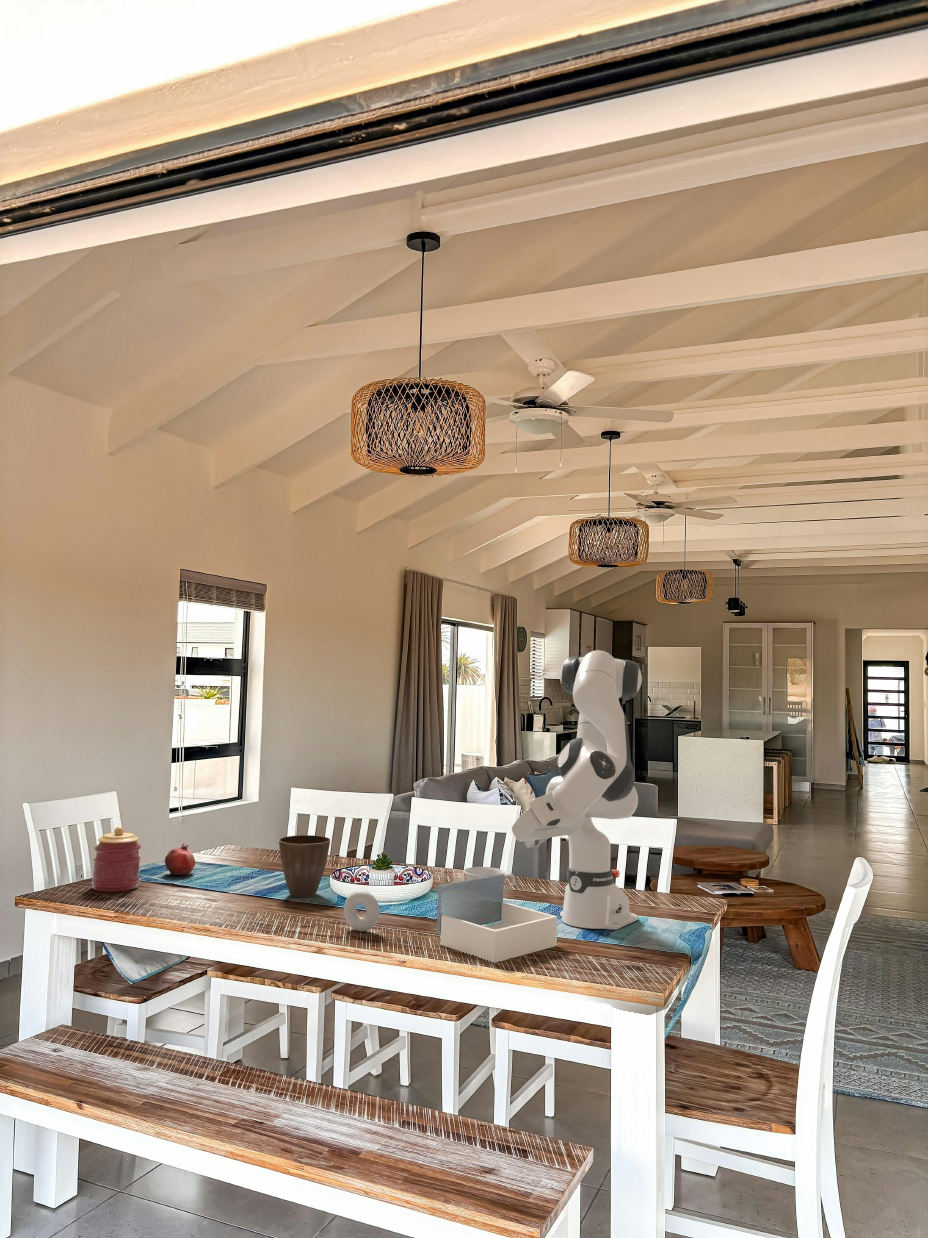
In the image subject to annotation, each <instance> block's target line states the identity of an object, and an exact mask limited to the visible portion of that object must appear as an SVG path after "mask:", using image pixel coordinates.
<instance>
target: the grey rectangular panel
mask: <svg viewBox="0 0 928 1238" xmlns="http://www.w3.org/2000/svg"><path fill="white" fill-rule="evenodd" d="M504 878H505V874H504V875H503V874H497V875H492V876H486V877H480V878H474V879H469V880H466V879H464V880H463V879H462V880H459V881H453V882H447V883H440V884H438V885H437V908H436V909H437V913H436V914H437V915H436V934H437V935H439V936H441V915H447V916H450V917H454V918H457V919H460V920H464V921H467V922H470V923H473V924H477V925H480V926H485V925H488V924H489V925H490V924H494V923H497V922H498V923H499V922H501V912H502V902H504V892H503V889H504V888H505V887H504V883H505V881H504Z"/></svg>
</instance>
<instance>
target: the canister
mask: <svg viewBox="0 0 928 1238" xmlns="http://www.w3.org/2000/svg"><path fill="white" fill-rule="evenodd" d="M139 839H140V838H139V837H138V836H136V835H135V833H131V832H125V830H124V828H123V827H122V826H117V827H116V828H115V829H114V831H113V832H109V833H105V834H103V835H102V836H101V837H99V838H97V841H98V842H99V843H98V844H97V845H96V846H94V850H95V857H94V858H93V875H92V880H91V882H92V883H91V886H92V889H93V890H94V891H96V892H103V893H119V892H127V891H132V890H135V889H137V888H138V887H139V884H140V866H141V865H140V864H141V863H140V862H141V856H140V849H142V845H141V844H140V843H138V841H139Z"/></svg>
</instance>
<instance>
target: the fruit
mask: <svg viewBox="0 0 928 1238" xmlns="http://www.w3.org/2000/svg"><path fill="white" fill-rule="evenodd" d="M188 848H189V845H188V844H186V845H185V843H184V842H183V844H182V845H181V847H178V848H174V849H171V850H170V851H168V853H167V855H165V858H164V866H165V868H166V869H167V871H168V872H169V876H171V877H172V876H187V875H190V874H191V873H192V872H193V870H194V868H195V866H196V858H195V855H194V854H193V852H191V850H189V849H188Z"/></svg>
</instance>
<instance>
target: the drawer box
mask: <svg viewBox="0 0 928 1238" xmlns="http://www.w3.org/2000/svg"><path fill="white" fill-rule="evenodd" d="M557 940H558V916H556V915H554V914H553V915H552V914H550V913H545V912H541V911H538V910H535V909H531V908H529V907H528V908H527V907H524V906H519V905H516V904H513V903H509V902H505V901H503V902H502V912H501V921H499V922H498V923H497V922H495V923H491V924H489V925H488V924H486V925H477V924H473V923H470V922H467V921H464V920H460V919H457V918H454V917H450V916H447V915H441V935H440V946H443V947H446V948H449V949H452V950H456V951H457V952H460V951H461V952H460V953H463V952H464V954H466V953H467V955H469V954H470V956H472V955H474V956H473V957H475V956H477V957H476V958H478V957H479V958H478V959H481V958H482V959H481V960H484V959H485V960H484V961H487V960H488V961H487V962H490V961H491V963H493V962H494V963H493V964H496V963H499V961H500V962H502V961H506V960H510V958H511V959H513V958H517V957H522V956H526V955H528V954H533V953H535V952H539V951H543V950H546V949H550V948H551V949H552V948H555V947H557V945H558V941H557Z"/></svg>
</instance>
